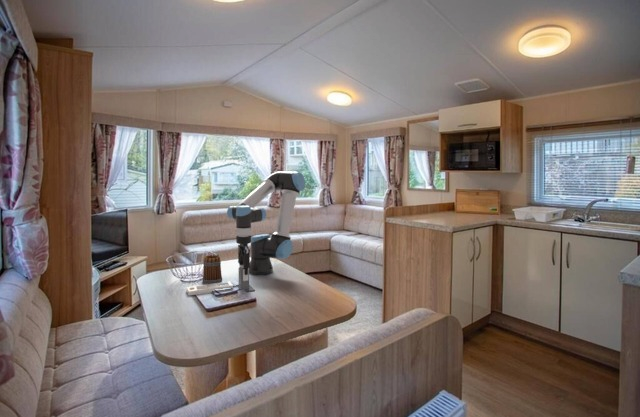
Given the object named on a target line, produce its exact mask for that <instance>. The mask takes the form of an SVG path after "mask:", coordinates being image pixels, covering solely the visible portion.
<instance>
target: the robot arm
mask: <svg viewBox="0 0 640 417" xmlns="http://www.w3.org/2000/svg"><path fill="white" fill-rule="evenodd" d="M305 186H306V179H305V176H304V175H303V173H302V172H300V171H284V170H283V171H282V170H279V171H276V172H273V173H272V174H269V175H268V176H267V177H266V178H264V179H262V182H261V184H260V185H259V186H258V187H256V188H255V189H254V190H253V191H251V192H250V194H248V195H247V196H245V198H243V199H242V200H241V201H240V202H239V203H237V205H230V206H229V207H228V208H227V211H226V215H227V217H228V219H230V220H234V221H235V223H236V226H235V227H236V228H235V233H236V234H235V235H236V239H235V240H236V244H238V245H237V248H238V250H237V252H238V253H237V254H238V255H237V263H238V265H239V267H238V269H239V268H240V267H243V268H242V269H243V281H248V268H249V275H250V274H251V275H257V276H262V275H269V274H272V273H273V271H274V270H273V269H274V268H273V265H272V260H271V258H274V259H281V260H285V259H287V258H289V257H290V255H291V254H292V252H293V248H294V243H293V241H292V240H291V235H290V232H291V224H292V220H293V216H294V210H295V205H296V199H297V197H298V196H299V195H300V192H302V191H304V189H305ZM278 190H279V191H280V192H281V193H282V197H281V200H280V204H279V205H280V206H279V210H278V215H277V220H276V225H275V229H274V232H272V233H271V234H269V233H263V234H257V235H252V223H257V222H260V223H261V222H263V221H264V220H266V218H267V216H268V215H267V211H266V209H265V208H264V207H259V206H258V205H259V204H260V203H261V202H262V201H263V200H264V199H265V198H267V196H268V195H269V194H272V193H275V192H276V191H278ZM256 206H258V207H256ZM249 244H250V249H249V246H248V245H249Z"/></svg>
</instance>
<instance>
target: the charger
mask: <svg viewBox="0 0 640 417" xmlns="http://www.w3.org/2000/svg"><path fill="white" fill-rule="evenodd" d="M242 268H243V267H240V268H239V267H238V284H239V286H238V288H239V287H240V288H239V289H240V290H247V289H249V285H250V273H249V268H248V281H243V269H242Z"/></svg>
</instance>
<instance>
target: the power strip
mask: <svg viewBox="0 0 640 417" xmlns="http://www.w3.org/2000/svg"><path fill="white" fill-rule="evenodd" d="M225 284H228V285H229V286H222V287H218V286H220V285H225ZM233 285H234V284H233V283H232V282H231V280H230V281H224V282H223V281H222V282H220V283H214V284H200V285H193V286H186V291H187V294H188V296H195V295H201V294H210V293H213V292H212V291H213V290H214V289H223V288H233V289H234V287H233ZM235 285H236V286H238V287H239V283H238V284H235Z"/></svg>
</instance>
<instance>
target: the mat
mask: <svg viewBox="0 0 640 417" xmlns="http://www.w3.org/2000/svg"><path fill="white" fill-rule="evenodd" d="M255 291H256V290H255V289H254V287H252V285H250V284H249V289H247V290H245V292H246V293H250V292H252V293H253V292H255Z"/></svg>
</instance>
